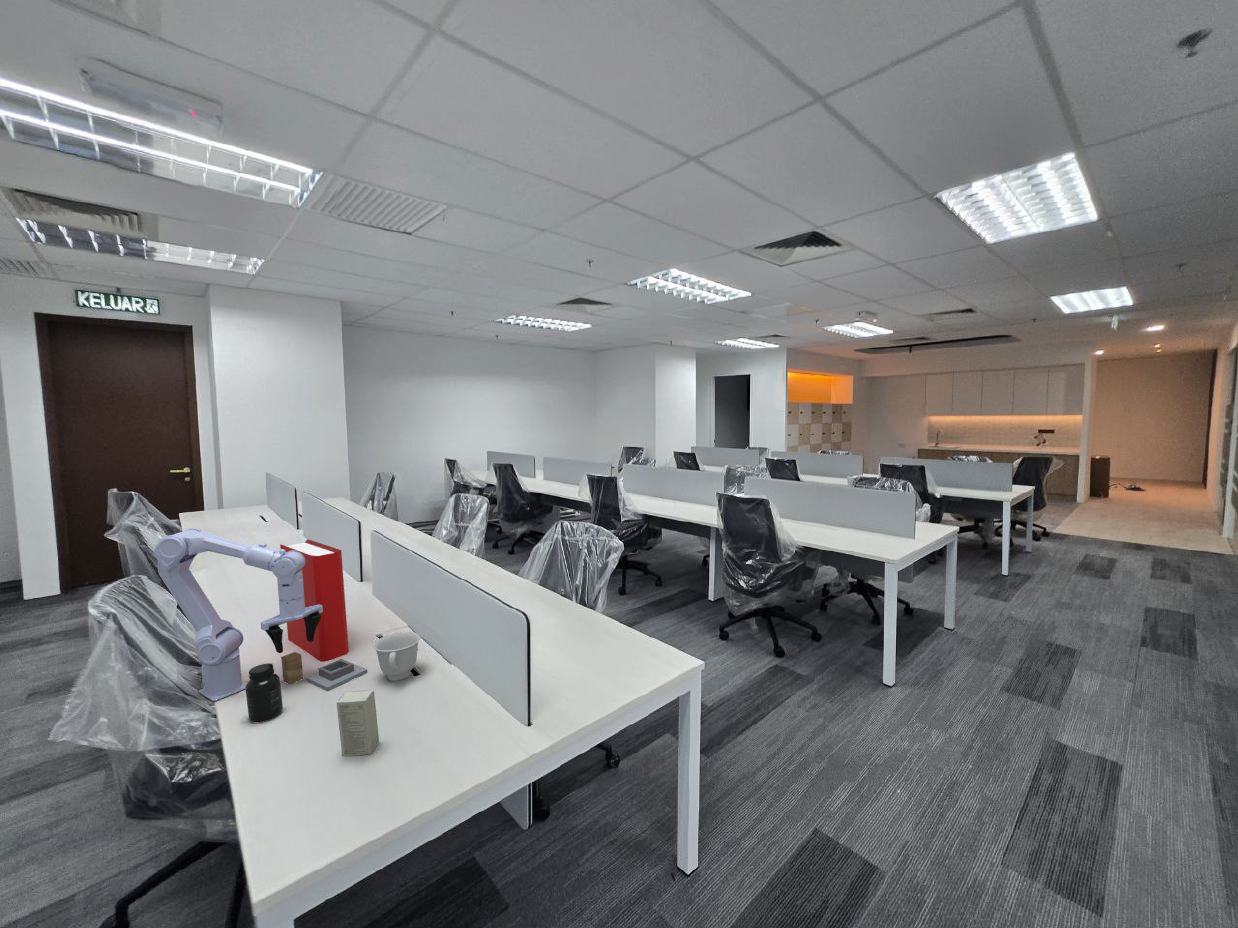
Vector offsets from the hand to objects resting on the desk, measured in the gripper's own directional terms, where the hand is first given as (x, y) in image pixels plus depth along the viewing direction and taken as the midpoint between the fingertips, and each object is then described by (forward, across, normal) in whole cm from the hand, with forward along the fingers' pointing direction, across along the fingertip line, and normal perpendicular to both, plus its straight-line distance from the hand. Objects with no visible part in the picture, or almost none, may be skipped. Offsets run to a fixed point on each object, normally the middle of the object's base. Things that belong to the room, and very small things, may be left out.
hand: (295, 646), depth 135 cm
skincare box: (+10, -7, -42) cm, 44 cm away
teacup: (+10, +15, -22) cm, 29 cm away
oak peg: (+10, 0, +3) cm, 11 cm away
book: (+11, +15, +19) cm, 26 cm away
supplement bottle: (+10, -12, -10) cm, 18 cm away
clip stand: (+10, +7, -6) cm, 14 cm away
